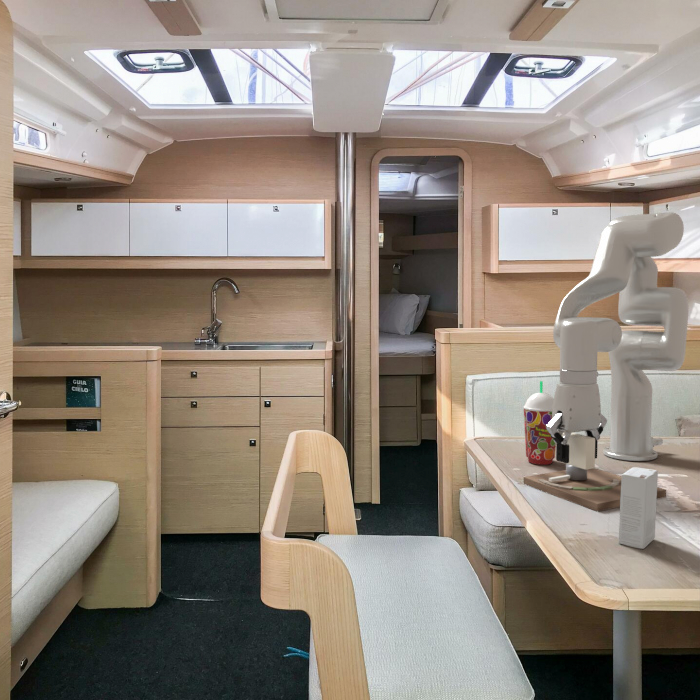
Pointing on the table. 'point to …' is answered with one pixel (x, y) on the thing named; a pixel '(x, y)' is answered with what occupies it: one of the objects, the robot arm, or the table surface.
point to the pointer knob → (578, 457)
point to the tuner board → (585, 488)
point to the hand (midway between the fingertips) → (576, 458)
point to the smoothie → (539, 428)
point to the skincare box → (638, 507)
